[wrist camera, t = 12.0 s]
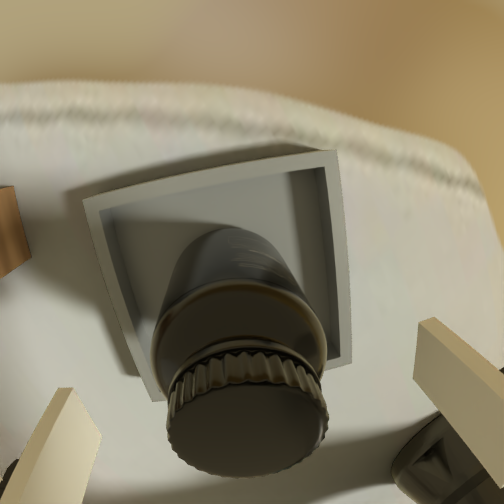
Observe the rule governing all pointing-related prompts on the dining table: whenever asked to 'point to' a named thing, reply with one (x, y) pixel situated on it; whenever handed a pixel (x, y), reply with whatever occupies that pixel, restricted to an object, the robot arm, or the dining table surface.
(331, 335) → the tray
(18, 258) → the block
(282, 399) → the supplement bottle
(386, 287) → the dining table surface
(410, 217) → the dining table surface
